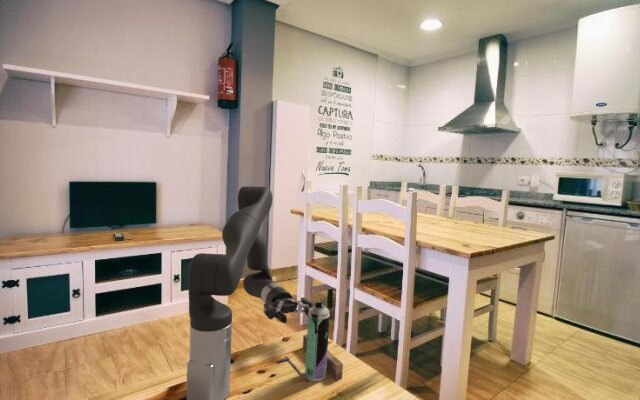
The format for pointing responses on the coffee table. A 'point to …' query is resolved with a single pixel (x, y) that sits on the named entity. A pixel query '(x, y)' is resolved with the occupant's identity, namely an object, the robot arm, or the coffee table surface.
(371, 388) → the coffee table surface
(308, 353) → the spray can
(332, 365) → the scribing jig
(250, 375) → the coffee table surface
